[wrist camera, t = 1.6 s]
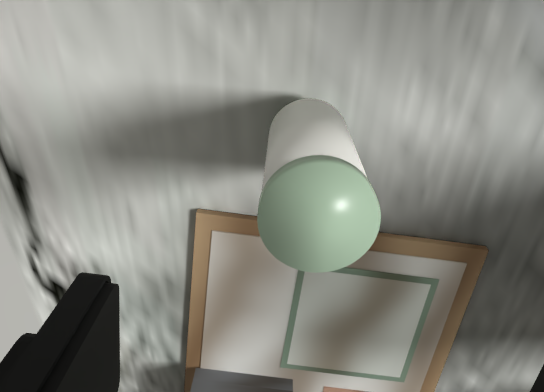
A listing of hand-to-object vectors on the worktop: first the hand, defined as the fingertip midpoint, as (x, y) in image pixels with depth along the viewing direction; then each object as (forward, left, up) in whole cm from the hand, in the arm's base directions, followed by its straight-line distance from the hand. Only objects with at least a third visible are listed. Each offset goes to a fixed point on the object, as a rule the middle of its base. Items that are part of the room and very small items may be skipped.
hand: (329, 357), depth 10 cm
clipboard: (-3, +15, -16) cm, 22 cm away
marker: (0, 0, -16) cm, 16 cm away
